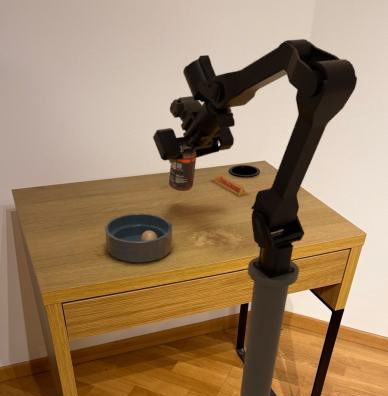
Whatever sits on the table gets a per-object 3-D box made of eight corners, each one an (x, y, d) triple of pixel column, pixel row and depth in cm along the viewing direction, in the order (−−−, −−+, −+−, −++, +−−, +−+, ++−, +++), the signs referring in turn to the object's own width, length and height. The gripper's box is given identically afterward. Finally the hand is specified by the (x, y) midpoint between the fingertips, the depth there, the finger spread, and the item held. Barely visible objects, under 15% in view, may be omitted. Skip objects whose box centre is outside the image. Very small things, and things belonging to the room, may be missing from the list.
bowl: (183, 255, 106) (183, 234, 103) (121, 270, 101) (120, 248, 98) (155, 229, 116) (154, 209, 113) (97, 241, 111) (95, 220, 107)
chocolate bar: (221, 179, 142) (221, 172, 141) (246, 194, 134) (247, 186, 133) (213, 181, 141) (214, 173, 140) (238, 195, 133) (239, 187, 132)
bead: (162, 245, 108) (154, 239, 104) (148, 252, 109) (140, 246, 106) (157, 231, 109) (149, 225, 106) (144, 238, 110) (136, 232, 107)
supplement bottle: (189, 180, 125) (196, 136, 117) (194, 192, 121) (201, 147, 113) (166, 180, 123) (171, 134, 115) (170, 191, 119) (175, 145, 111)
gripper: (230, 81, 108) (201, 123, 122) (155, 89, 100) (133, 133, 114) (248, 128, 108) (217, 164, 122) (175, 140, 100) (151, 177, 114)
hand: (181, 158), depth 118 cm, fingers closed on supplement bottle, 6 cm apart
